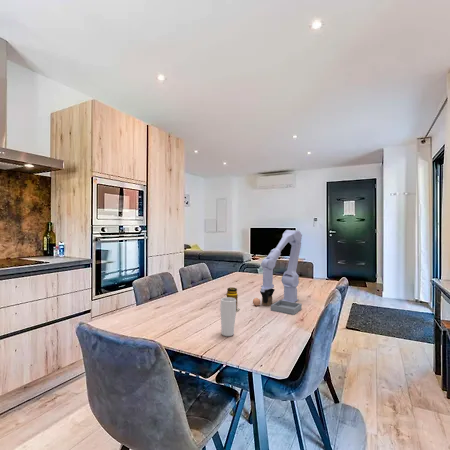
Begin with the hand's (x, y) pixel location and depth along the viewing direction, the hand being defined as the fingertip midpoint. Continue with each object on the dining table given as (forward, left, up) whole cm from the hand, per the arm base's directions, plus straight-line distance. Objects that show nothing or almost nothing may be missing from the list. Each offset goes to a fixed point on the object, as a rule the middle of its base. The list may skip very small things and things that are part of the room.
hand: (267, 302), depth 168 cm
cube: (0, 0, -1) cm, 1 cm away
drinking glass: (+52, +5, -2) cm, 52 cm away
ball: (+6, -4, -1) cm, 7 cm away
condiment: (+22, -12, -2) cm, 25 cm away
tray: (+3, +13, -1) cm, 13 cm away
